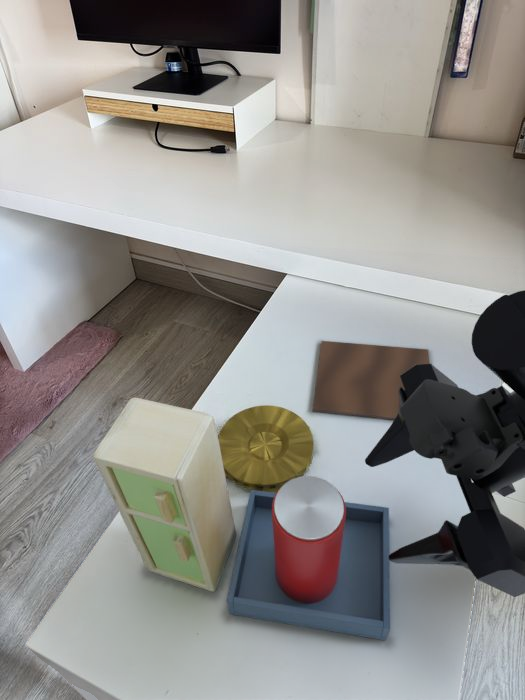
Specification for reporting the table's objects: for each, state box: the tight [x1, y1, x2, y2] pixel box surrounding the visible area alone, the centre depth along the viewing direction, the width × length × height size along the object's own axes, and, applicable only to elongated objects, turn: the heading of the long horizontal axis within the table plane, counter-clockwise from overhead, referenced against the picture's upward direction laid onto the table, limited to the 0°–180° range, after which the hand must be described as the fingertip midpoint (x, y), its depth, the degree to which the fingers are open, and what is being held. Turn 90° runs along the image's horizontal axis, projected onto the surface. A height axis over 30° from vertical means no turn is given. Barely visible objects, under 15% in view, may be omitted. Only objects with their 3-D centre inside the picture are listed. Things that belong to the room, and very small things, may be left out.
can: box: [272, 475, 346, 604], centre depth 48 cm, size 6×6×13 cm
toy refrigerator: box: [92, 397, 237, 593], centre depth 47 cm, size 8×7×21 cm
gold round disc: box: [217, 404, 314, 493], centre depth 63 cm, size 12×12×2 cm
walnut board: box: [312, 340, 431, 421], centre depth 72 cm, size 16×14×1 cm
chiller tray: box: [226, 489, 391, 641], centre depth 52 cm, size 15×12×3 cm
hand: (378, 508), depth 44 cm, fingers open, 9 cm apart
